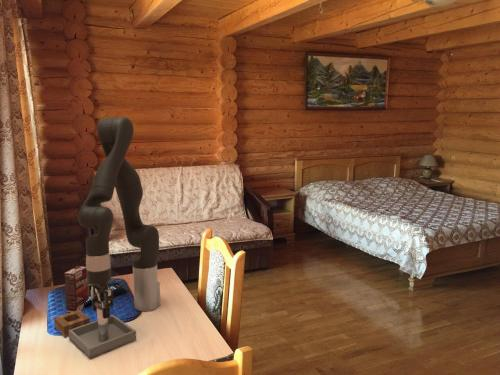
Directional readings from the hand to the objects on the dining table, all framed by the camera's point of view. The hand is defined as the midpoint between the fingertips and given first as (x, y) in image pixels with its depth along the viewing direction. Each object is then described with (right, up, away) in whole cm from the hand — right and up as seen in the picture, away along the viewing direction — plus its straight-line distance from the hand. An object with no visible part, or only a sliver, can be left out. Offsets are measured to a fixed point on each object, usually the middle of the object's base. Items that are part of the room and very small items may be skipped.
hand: (101, 313), depth 141 cm
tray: (0, -9, +2) cm, 10 cm away
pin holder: (-13, -8, +9) cm, 18 cm away
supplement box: (-18, -5, +25) cm, 31 cm away
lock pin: (0, -9, +1) cm, 9 cm away
